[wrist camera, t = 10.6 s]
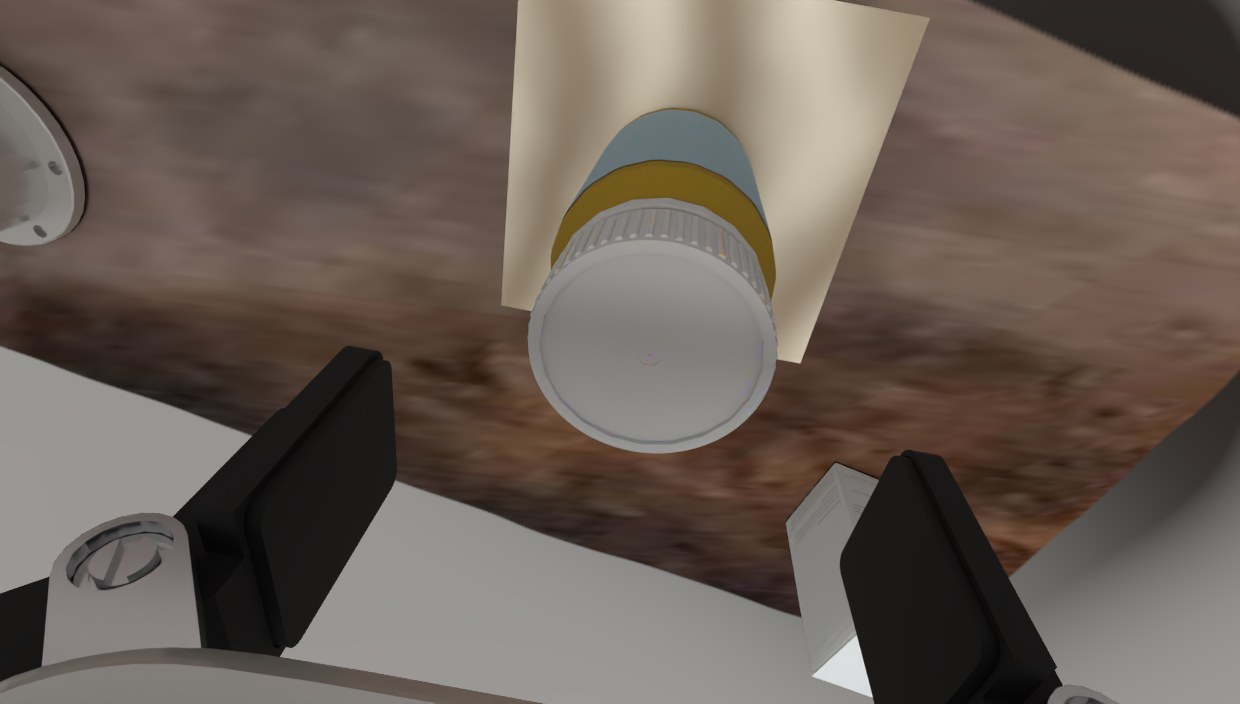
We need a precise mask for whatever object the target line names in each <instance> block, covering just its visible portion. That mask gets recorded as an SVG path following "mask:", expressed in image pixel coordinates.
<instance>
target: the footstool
mask: <svg viewBox="0 0 1240 704" xmlns="http://www.w3.org/2000/svg"><path fill="white" fill-rule="evenodd" d="M929 19H930V18H928V17H923V16H917V15H912V14H906V13H901V12H895V11H890V10H884V9H879V8H873V7H868V6H862V5H857V4H851V3H846V2H841V1H835V0H518V15H517V33H516V51H515V68H514V86H513V104H512V122H511V140H510V158H509V176H508V193H507V211H506V229H505V247H504V265H503V283H502V300H501V305H503V306H508V307H513V308H518V309H523V310H528V311H532V309H533V307H534V302H535V300H536V298H537V296H538V294H539V292H540V290H541V288H542V286H543V284H544V282H545V280H546V279H547V277H548V275H549V273H550V271H551V252H552V247H553V244H554V241H555V238H556V236H557V233H558V230H559V227H560V225H561V223H562V220H563V217H564V216H565V214H566V212H567V210H568V209H569V207H570V205H571V204H572V202H573V201H574V199H575V197H576V196H577V194H578V192H579V191H580V189H581V187H582V186H583V184H584V183H585V181H586V179H587V178H588V176H589V174H590V173H591V171H592V170H593V168H594V166H595V165H596V163H597V161H598V160H599V158H600V157H601V155H602V153H603V152H604V150H605V148H606V147H607V146H608V145H609V143H610V142H611V141H612V140H613V138H614V137H615V136H616V135H617V133H618V132H619V131H620V130H621V129H622V128H624V127H625V126H626V125H628V124H629V123H631V122H632V121H634V120H635V119H637V118H638V117H640V116H642V115H644V114H646V113H649V112H653V111H657V110H661V109H665V108H681V109H692V110H696V111H699V112H702V113H704V114H706V115H708V116H711V117H713V118H715V119H717V120H718V121H720V122H721V123H723V124H724V125H725V126H726V127H727V128H728V129H729V130H730V131H731V132H732V133H733V134H734V135H735V136H736V137H737V138H738V140H739V141H740V143H741V145H742V147H743V149H744V151H745V153H746V155H747V157H748V159H749V161H750V164H751V167H752V170H753V174H754V177H755V181H756V184H757V188H758V192H759V195H760V199H761V202H762V206H763V209H764V213H765V217H766V220H767V224H768V227H769V231H770V235H771V238H772V245H773V251H774V259H775V266H776V281H775V286H774V291H773V295H772V300H771V306H772V310H773V315H774V319H775V324H776V328H777V340H778V347H777V354H778V357H777V359H780V360H785V361H790V362H795V363H801V360H802V357H803V355H804V352H805V349H806V347H807V344H808V341H809V339H810V336H811V333H812V331H813V328H814V325H815V323H816V320H817V317H818V315H819V312H820V309H821V307H822V304H823V301H824V299H825V296H826V293H827V291H828V288H829V285H830V283H831V280H832V277H833V275H834V272H835V269H836V267H837V264H838V261H839V259H840V256H841V253H842V251H843V248H844V245H845V243H846V240H847V237H848V235H849V232H850V229H851V227H852V224H853V221H854V219H855V216H856V214H857V211H858V208H859V206H860V203H861V200H862V198H863V195H864V192H865V190H866V187H867V184H868V182H869V179H870V176H871V174H872V171H873V168H874V166H875V163H876V160H877V158H878V155H879V152H880V150H881V147H882V144H883V142H884V139H885V136H886V134H887V131H888V128H889V126H890V123H891V120H892V118H893V115H894V112H895V110H896V107H897V104H898V102H899V99H900V96H901V94H902V91H903V88H904V86H905V83H906V80H907V78H908V75H909V72H910V70H911V67H912V64H913V62H914V59H915V57H916V54H917V51H918V49H919V46H920V43H921V41H922V38H923V35H924V33H925V30H926V27H927V25H928V22H929Z"/></svg>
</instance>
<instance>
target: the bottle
mask: <svg viewBox="0 0 1240 704" xmlns="http://www.w3.org/2000/svg"><path fill="white" fill-rule="evenodd" d="M775 281H776V266H775V259H774V251H773V245H772V238H771V235H770V231H769V227H768V224H767V220H766V217H765V213H764V209H763V206H762V202H761V199H760V195H759V192H758V188H757V184H756V181H755V177H754V174H753V170H752V167H751V164H750V161H749V159H748V157H747V155H746V153H745V151H744V149H743V147H742V145H741V143H740V141H739V140H738V138H737V137H736V136H735V135H734V134H733V133H732V132H731V131H730V130H729V129H728V128H727V127H726V126H725V125H724V124H723V123H721V122H720V121H718V120H717V119H715V118H713V117H711V116H708V115H706V114H704V113H702V112H699V111H696V110H692V109H681V108H665V109H661V110H657V111H653V112H649V113H646V114H644V115H642V116H640V117H638V118H637V119H635V120H634V121H632V122H631V123H629V124H628V125H626V126H625V127H624V128H622V129H621V130H620V131H619V132H618V133H617V135H616V136H615V137H614V138H613V140H612V141H611V142H610V143H609V145H608V146H607V147H606V148H605V150H604V152H603V153H602V155H601V157H600V158H599V160H598V161H597V163H596V165H595V166H594V168H593V170H592V171H591V173H590V174H589V176H588V178H587V179H586V181H585V183H584V184H583V186H582V187H581V189H580V191H579V192H578V194H577V196H576V197H575V199H574V201H573V202H572V204H571V205H570V207H569V209H568V210H567V212H566V214H565V216H564V217H563V220H562V223H561V225H560V227H559V230H558V233H557V236H556V238H555V241H554V244H553V247H552V252H551V271H550V273H549V275H548V277H547V279H546V280H545V282H544V284H543V286H542V288H541V290H540V292H539V294H538V296H537V298H536V300H535V302H534V307H533V309H532V311H531V314H530V316H531V320H530V322H529V324H528V328H529V334H528V350H529V358H530V363H531V367H532V370H533V373H534V376H535V378H536V381H537V383H538V385H539V387H540V389H541V391H542V392H543V394H544V395H545V397H546V398H547V400H548V401H549V402H550V404H551V405H552V406H553V407H554V409H555V410H556V411H557V412H558V413H559V414H560V415H561V416H562V417H563V418H564V419H565V420H567V421H568V422H569V423H570V424H572V425H573V426H574V427H576V428H577V429H578V430H580V431H582V432H583V433H585V434H587V435H588V436H590V437H592V438H594V439H596V440H598V441H601V442H603V443H605V444H608V445H611V446H614V447H617V448H621V449H625V450H630V451H635V452H643V453H672V452H680V451H685V450H690V449H694V448H697V447H701V446H704V445H706V444H709V443H711V442H714V441H716V440H718V439H720V438H722V437H723V436H725V435H727V434H728V433H730V432H731V431H733V430H734V429H736V428H737V427H738V426H740V425H741V424H742V423H743V422H744V421H745V420H746V419H747V418H748V417H749V416H750V415H751V414H752V413H753V412H754V411H755V409H756V408H757V407H758V405H759V404H760V403H761V401H762V400H763V398H764V396H765V394H766V392H767V390H768V388H769V386H770V383H771V380H772V377H773V373H774V371H775V368H776V366H775V363H776V360H777V357H778V354H777V347H778V340H777V328H776V324H775V319H774V315H773V310H772V306H771V300H772V295H773V291H774V286H775Z"/></svg>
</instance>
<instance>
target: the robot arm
mask: <svg viewBox="0 0 1240 704" xmlns="http://www.w3.org/2000/svg"><path fill="white" fill-rule="evenodd" d="M84 202H85V190H84V180H83V176H82V172H81V169H80V165H79V162H78V159H77V157H76V155H75V153H74V150H73V148H72V146H71V144H70V142H69V140H68V138H67V137H66V135H65V133H64V132H63V130H62V129H61V127H60V125H59V124H58V122H57V121H56V120H55V118H54V117H53V116H52V115H51V113H50V112H49V111H48V109H47V108H46V107H45V106H44V104H43V103H42V102H41V101H40V100H39V99H38V98H37V97H36V96H35V95H34V94H33V93H32V92H31V91H30V90H29V89H28V88H27V87H26V86H25V85H24V84H23V83H22V82H20V81H19V80H18V79H17V78H15V77H14V76H13V75H12V74H11V73H9V72H8V71H7V70H6V69H4V68H3V67H1V66H0V242H4V243H7V244H11V245H20V246H34V245H42V244H45V243H48V242H51V241H54V240H56V239H59V238H61V237H63V236H64V235H66V234H68V233H70V232H71V230H72V229H73V228H74V227H75V226H76V225H77V224H78V222H79V220H80V218H81V215H82V213H83V209H84ZM396 473H397V460H396V442H395V424H394V406H393V388H392V370H391V364H390V362H389V361H386V360H383V357H382V354H381V353H380V352H379V351H375V350H370V349H364V348H359V347H353V346H346V347H345V348H343V349H342V350H341V351H340V352H339V353H338V354H337V355H336V356H335V357H334V358H333V359H332V360H331V361H330V362H329V363H328V365H327V366H326V367H325V368H324V369H323V370H322V371H321V372H320V373H319V374H318V375H317V376H316V377H315V378H314V379H313V380H312V381H311V382H310V383H309V384H308V385H307V386H306V387H305V388H304V389H303V390H302V391H301V392H300V393H299V394H298V395H297V396H296V397H295V398H294V399H293V401H292V402H291V403H290V404H289V405H288V406H287V407H286V408H282V409H280V410H279V411H277V412H276V413H275V414H274V415H273V416H272V417H271V418H270V419H269V420H268V421H267V422H266V423H265V424H264V425H263V426H262V427H261V428H260V429H259V430H258V431H257V432H256V433H255V434H254V435H253V436H252V437H251V438H250V439H249V440H248V441H247V442H246V443H245V444H244V445H243V446H242V447H241V448H240V449H239V450H238V451H237V452H236V453H235V454H234V455H233V456H232V457H231V458H230V459H229V460H228V461H227V462H226V463H225V464H224V465H223V466H222V468H220V469H219V470H218V471H217V472H216V474H214V476H213V477H212V478H211V479H210V480H209V481H208V482H207V483H206V484H205V485H204V486H203V487H202V488H201V489H200V490H199V491H198V492H197V493H196V494H195V495H194V496H193V497H192V498H191V499H190V500H189V501H188V502H187V503H186V504H185V505H184V506H183V507H182V508H181V509H180V510H179V511H178V512H177V513H176V514H175V515H174V516H173V517H171V516H167V515H164V514H160V513H139V514H133V515H127V516H122V517H119V518H116V519H113V520H110V521H108V522H105V523H102V524H100V525H98V526H96V527H94V528H92V529H91V530H89V531H87V532H85V533H83V534H81V535H80V536H79V537H78V538H76V539H75V540H74V541H73V542H71V543H70V544H69V545H68V546H66V547H65V549H64V550H63V551H62V553H61V554H60V555H59V556H58V557H57V559H56V560H55V561H54V564H53V567H52V570H51V573H50V577H48V578H44V579H42V580H39V581H36V582H33V583H30V584H27V585H24V586H21V587H18V588H15V589H12V590H9V591H7V592H4V593H1V594H0V704H542V703H537V702H531V701H526V700H521V699H515V698H510V697H504V696H499V695H493V694H488V693H482V692H477V691H471V690H465V689H460V688H455V687H450V686H444V685H439V684H433V683H428V682H422V681H417V680H411V679H406V678H400V677H395V676H389V675H384V674H378V673H373V672H367V671H361V670H355V669H349V668H342V667H337V666H330V665H325V664H318V663H312V662H307V661H301V660H294V659H288V658H282V657H280V655H281V654H282V652H283V651H284V649H285V647H289V648H293V647H294V646H296V644H298V642H299V641H300V640H301V638H302V637H303V635H304V633H305V632H306V630H307V628H308V627H309V625H310V623H311V622H312V620H313V618H314V617H315V615H316V613H317V612H318V610H319V608H320V607H321V605H322V603H323V602H324V600H325V598H326V596H327V595H328V593H329V591H330V590H331V588H332V586H333V585H334V583H335V582H336V580H337V578H338V577H339V575H340V573H341V572H342V570H343V568H344V566H345V565H346V563H347V562H348V560H349V558H350V557H351V555H352V553H353V552H354V550H355V548H356V547H357V545H358V543H359V542H360V540H361V538H362V537H363V535H364V533H365V531H366V530H367V528H368V527H369V525H370V523H371V522H372V520H373V518H374V516H375V515H376V513H377V511H378V510H379V508H380V507H381V505H382V503H383V502H384V500H385V498H386V497H387V495H388V493H389V492H390V490H391V488H392V486H393V484H394V481H395V478H396ZM840 573H841V577H842V581H843V585H844V588H845V592H846V596H847V600H848V604H849V608H850V611H851V615H852V619H853V623H854V627H855V631H856V634H857V638H858V642H859V646H860V650H861V654H862V657H863V661H864V665H865V669H866V673H867V677H868V681H869V684H870V688H871V692H872V696H873V700H874V704H1119V703H1117V702H1115V701H1113V700H1112V699H1110V698H1108V697H1107V696H1105V695H1103V694H1102V693H1100V692H1097V691H1094V690H1091V689H1089V688H1086V687H1083V686H1076V685H1065V686H1063V685H1062V683H1061V681H1060V679H1059V678H1058V676H1057V674H1056V672H1055V669H1056V668H1057V666H1056V664H1055V663H1054V661H1053V659H1052V657H1051V655H1050V654H1049V652H1048V650H1047V648H1046V646H1045V644H1044V642H1043V641H1042V639H1041V637H1040V635H1039V633H1038V631H1037V630H1036V628H1035V626H1034V624H1033V622H1032V621H1031V619H1030V617H1029V615H1028V613H1027V611H1026V609H1025V608H1024V606H1023V604H1022V602H1021V600H1020V598H1019V597H1018V595H1017V593H1016V591H1015V589H1014V587H1013V586H1012V584H1011V582H1010V580H1009V578H1008V576H1007V574H1006V573H1005V571H1004V569H1003V567H1002V565H1001V563H1000V562H999V560H998V558H997V556H996V554H995V552H994V551H993V549H992V547H991V545H990V543H989V541H988V540H987V538H986V536H985V534H984V532H983V530H982V529H981V527H980V525H979V523H978V521H977V519H976V518H975V516H974V514H973V512H972V510H971V508H970V507H969V505H968V503H967V501H966V499H965V497H964V496H963V494H962V492H961V490H960V488H959V486H958V485H957V483H956V481H955V479H954V477H953V475H952V474H951V472H950V470H949V468H948V466H947V464H946V463H945V461H944V460H943V458H942V457H941V456H938V455H934V454H929V453H924V452H918V451H913V450H905V451H904V452H902V453H901V455H900V456H893V457H892V458H891V459H890V461H889V462H888V464H887V466H886V468H885V470H884V472H883V474H882V476H881V478H880V480H879V481H878V483H877V485H876V487H875V489H874V491H873V493H872V495H871V497H870V499H869V501H868V503H867V504H866V506H865V508H864V510H863V512H862V514H861V516H860V518H859V520H858V522H857V524H856V526H855V527H854V529H853V531H852V533H851V535H850V537H849V539H848V541H847V543H846V545H845V547H844V549H843V551H842V553H841V557H840Z"/></svg>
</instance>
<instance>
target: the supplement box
mask: <svg viewBox="0 0 1240 704" xmlns="http://www.w3.org/2000/svg"><path fill="white" fill-rule="evenodd" d="M878 481H879V480H878V479H875V478H873V477H870V476H868V475H865V474H863V473H860V472H858V471H855V470H853V469H850V468H848V467H845V466H843V465H841V464H838V463H835V464H834V465H833V466H832V467H831V468H830V469H829V471H828V472H827V473H826V474H825V475H824V477H823V478H822V479H821V480H820V481H819V483H818V484H817V485H816V486H815V487H814V488H813V490H812V491H811V492H810V493H809V494H808V496H807V497H806V498H805V499H804V500H803V502H802V503H801V504H800V505H799V506H798V508H797V509H796V510H795V512H794V513H793V514H792V515H791V516H790V518H789V519H788V521H787V522H786V527H787V533H788V539H789V545H790V551H791V557H792V563H793V568H794V574H795V580H796V586H797V592H798V598H799V604H800V610H801V616H802V622H803V627H804V633H805V639H806V646H807V651H808V657H809V663H810V669H811V675H812V676H813V677H816V678H818V679H821V680H824V681H827V682H830V683H833V684H836V685H838V686H841V687H844V688H847V689H850V690H853V691H855V692H858V693H861V694H864V695H866V696H869V697H872V698H873V696H872V692H871V688H870V684H869V681H868V677H867V673H866V669H865V665H864V661H863V657H862V654H861V650H860V646H859V642H858V638H857V634H856V631H855V627H854V623H853V619H852V615H851V611H850V608H849V604H848V600H847V596H846V592H845V588H844V585H843V581H842V577H841V573H840V557H841V553H842V551H843V549H844V547H845V545H846V543H847V541H848V539H849V537H850V535H851V533H852V531H853V529H854V527H855V526H856V524H857V522H858V520H859V518H860V516H861V514H862V512H863V510H864V508H865V506H866V504H867V503H868V501H869V499H870V497H871V495H872V493H873V491H874V489H875V487H876V485H877V483H878Z"/></svg>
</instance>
